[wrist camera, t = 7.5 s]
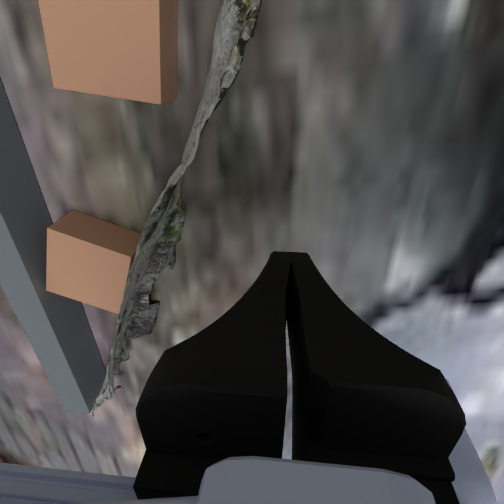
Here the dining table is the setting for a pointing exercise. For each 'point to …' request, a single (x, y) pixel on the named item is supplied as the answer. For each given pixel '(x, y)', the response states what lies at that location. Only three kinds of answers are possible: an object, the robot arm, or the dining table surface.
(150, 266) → the driftwood
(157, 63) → the tile
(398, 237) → the dining table surface
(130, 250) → the tile
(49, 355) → the slate curb
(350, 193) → the dining table surface
